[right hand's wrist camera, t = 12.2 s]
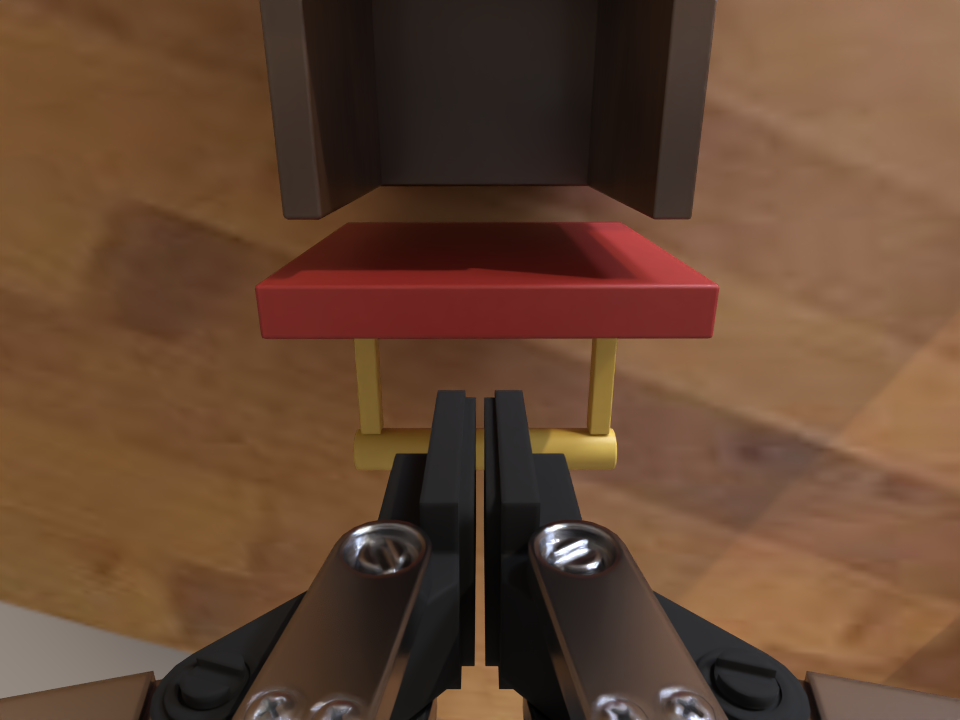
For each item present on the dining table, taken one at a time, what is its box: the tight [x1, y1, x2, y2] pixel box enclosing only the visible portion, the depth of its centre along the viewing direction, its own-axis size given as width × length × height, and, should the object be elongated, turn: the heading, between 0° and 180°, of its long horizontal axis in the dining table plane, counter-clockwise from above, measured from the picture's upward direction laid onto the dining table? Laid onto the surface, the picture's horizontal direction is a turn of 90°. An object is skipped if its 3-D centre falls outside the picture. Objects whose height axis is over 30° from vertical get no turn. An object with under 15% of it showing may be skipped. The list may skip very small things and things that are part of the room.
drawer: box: [255, 0, 719, 470], centre depth 15 cm, size 24×10×9 cm, turn 0°
